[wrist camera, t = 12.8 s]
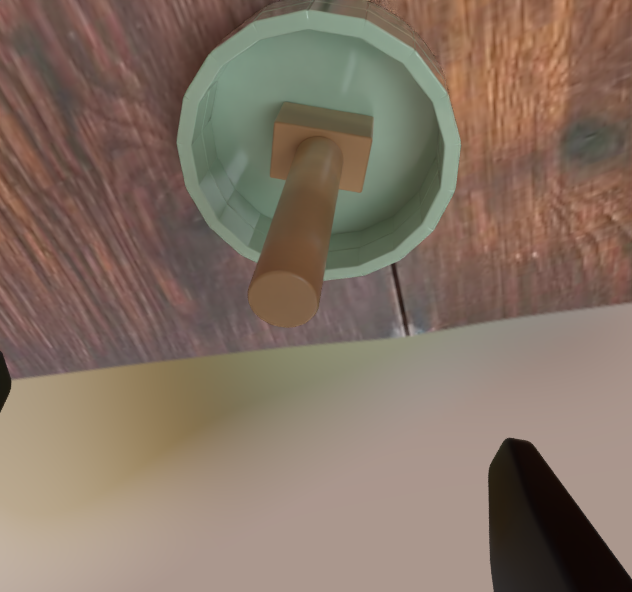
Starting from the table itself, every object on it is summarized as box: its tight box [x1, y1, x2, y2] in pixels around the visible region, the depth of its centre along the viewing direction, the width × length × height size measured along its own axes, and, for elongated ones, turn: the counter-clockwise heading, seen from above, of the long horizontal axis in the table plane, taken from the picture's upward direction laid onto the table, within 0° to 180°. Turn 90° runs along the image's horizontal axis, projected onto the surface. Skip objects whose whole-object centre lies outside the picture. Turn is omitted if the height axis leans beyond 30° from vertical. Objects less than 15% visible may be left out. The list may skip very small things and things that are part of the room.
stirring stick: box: [248, 102, 374, 327], centre depth 16 cm, size 2×3×10 cm, turn 82°
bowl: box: [176, 0, 461, 281], centre depth 19 cm, size 9×9×3 cm
